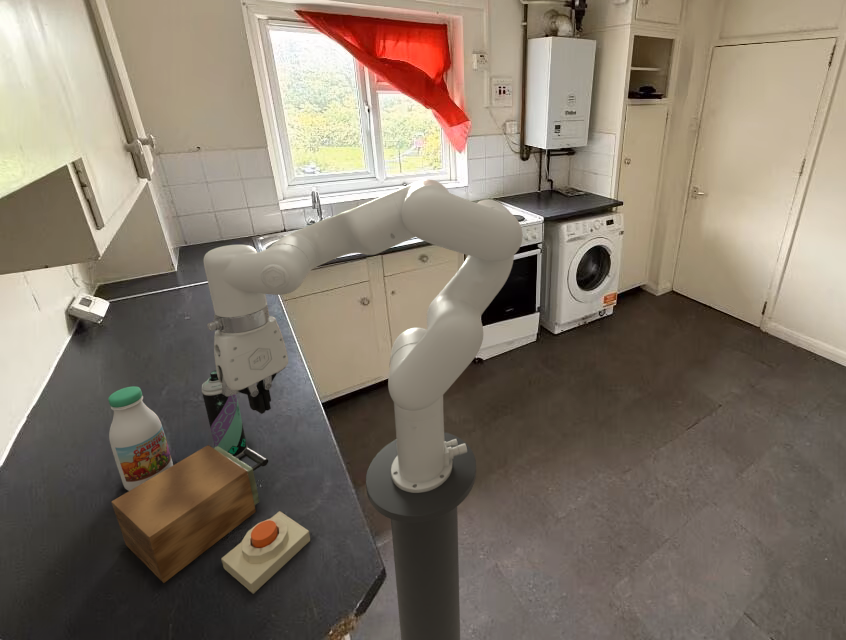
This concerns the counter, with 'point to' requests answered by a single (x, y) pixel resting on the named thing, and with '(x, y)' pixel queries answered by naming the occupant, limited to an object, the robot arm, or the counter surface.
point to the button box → (265, 553)
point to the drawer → (253, 456)
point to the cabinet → (184, 510)
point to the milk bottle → (137, 438)
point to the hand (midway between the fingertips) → (261, 408)
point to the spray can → (224, 417)
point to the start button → (264, 534)
